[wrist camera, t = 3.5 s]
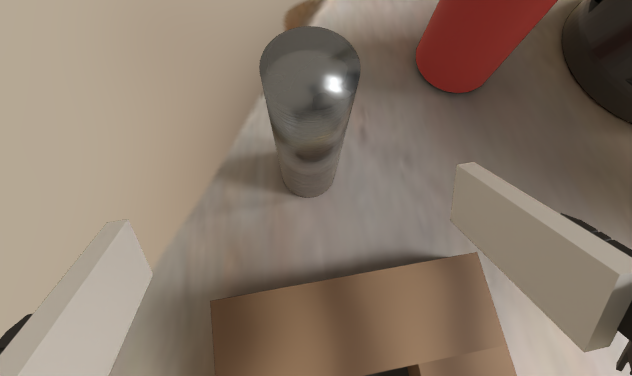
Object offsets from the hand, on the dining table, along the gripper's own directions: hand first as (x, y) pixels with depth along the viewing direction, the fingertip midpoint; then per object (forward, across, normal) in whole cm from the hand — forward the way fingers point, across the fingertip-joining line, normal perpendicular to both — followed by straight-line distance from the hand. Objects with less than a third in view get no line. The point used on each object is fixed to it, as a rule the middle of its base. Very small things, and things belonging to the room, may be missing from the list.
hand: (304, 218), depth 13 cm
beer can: (+16, +15, +3) cm, 23 cm away
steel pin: (+11, +1, -3) cm, 11 cm away
